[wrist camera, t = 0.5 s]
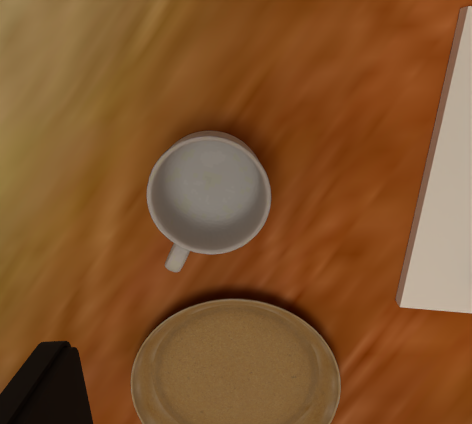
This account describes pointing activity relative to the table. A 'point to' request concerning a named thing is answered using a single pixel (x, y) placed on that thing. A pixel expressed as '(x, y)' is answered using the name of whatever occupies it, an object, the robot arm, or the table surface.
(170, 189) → the teacup
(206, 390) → the plant saucer
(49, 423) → the robot arm
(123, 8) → the table surface
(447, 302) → the base board
